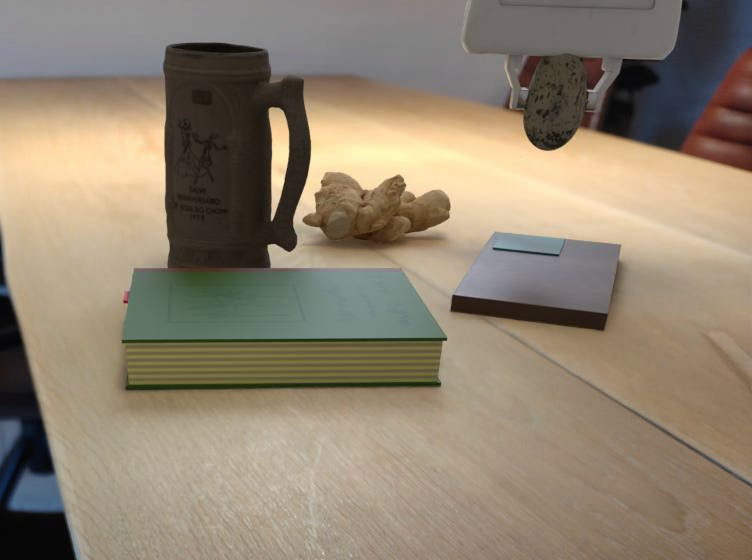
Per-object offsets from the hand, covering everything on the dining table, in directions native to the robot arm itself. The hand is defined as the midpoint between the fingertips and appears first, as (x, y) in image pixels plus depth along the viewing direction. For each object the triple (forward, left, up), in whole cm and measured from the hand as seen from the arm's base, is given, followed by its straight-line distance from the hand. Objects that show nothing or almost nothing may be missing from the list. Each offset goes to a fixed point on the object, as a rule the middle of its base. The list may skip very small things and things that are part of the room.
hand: (553, 110), depth 92 cm
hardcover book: (+26, +31, -14) cm, 43 cm away
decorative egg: (0, 0, -4) cm, 4 cm away
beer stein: (+31, +10, -14) cm, 35 cm away
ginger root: (+18, -7, -15) cm, 24 cm away
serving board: (0, +9, -14) cm, 17 cm away
